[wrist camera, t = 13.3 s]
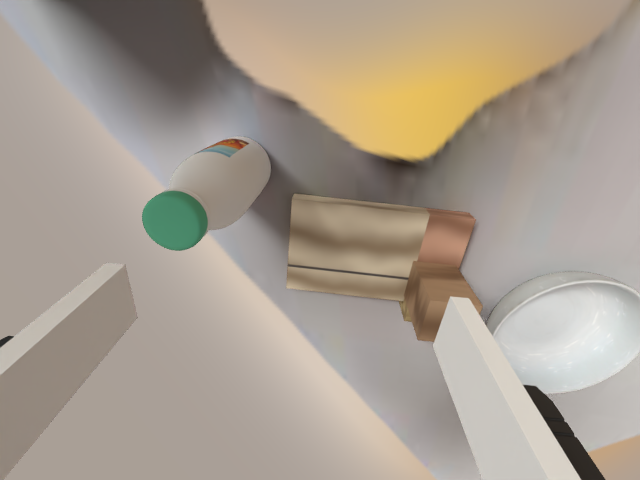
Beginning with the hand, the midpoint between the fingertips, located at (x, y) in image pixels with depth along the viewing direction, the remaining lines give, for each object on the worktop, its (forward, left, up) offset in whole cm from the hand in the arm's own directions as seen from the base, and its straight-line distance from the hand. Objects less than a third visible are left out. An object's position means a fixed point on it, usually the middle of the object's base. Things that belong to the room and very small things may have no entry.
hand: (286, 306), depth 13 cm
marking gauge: (+16, +17, -30) cm, 38 cm away
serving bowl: (+20, +37, -31) cm, 52 cm away
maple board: (+12, +9, -31) cm, 34 cm away
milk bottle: (+2, -10, -31) cm, 32 cm away
